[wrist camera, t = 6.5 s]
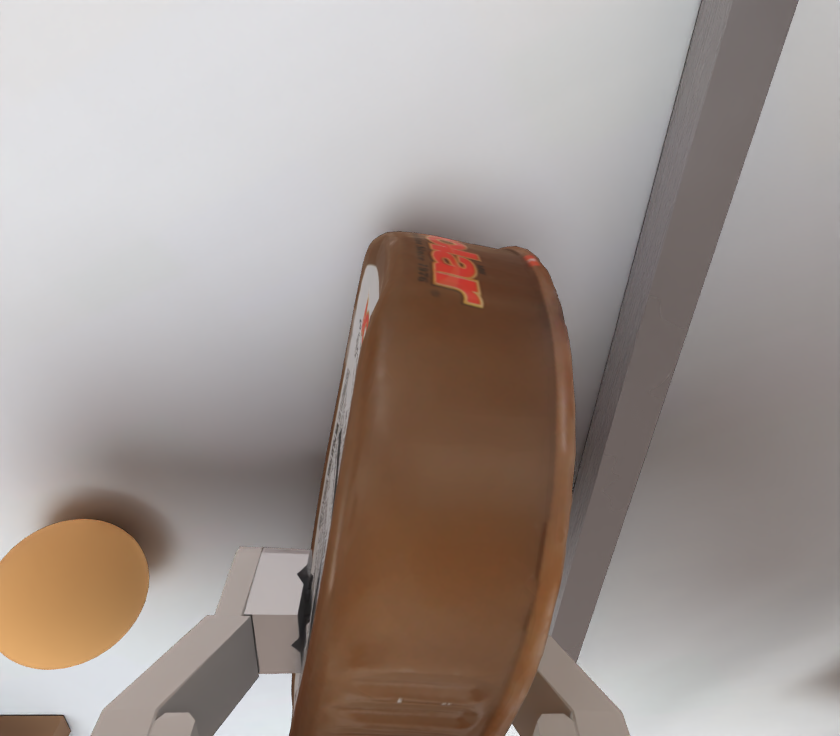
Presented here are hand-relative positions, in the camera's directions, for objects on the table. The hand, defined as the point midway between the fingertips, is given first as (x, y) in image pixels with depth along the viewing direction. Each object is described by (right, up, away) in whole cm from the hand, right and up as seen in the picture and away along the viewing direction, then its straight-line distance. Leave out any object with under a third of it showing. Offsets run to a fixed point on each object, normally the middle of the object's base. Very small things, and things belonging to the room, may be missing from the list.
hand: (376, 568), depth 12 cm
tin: (-1, +2, +3) cm, 4 cm away
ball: (-9, -2, +4) cm, 10 cm away
